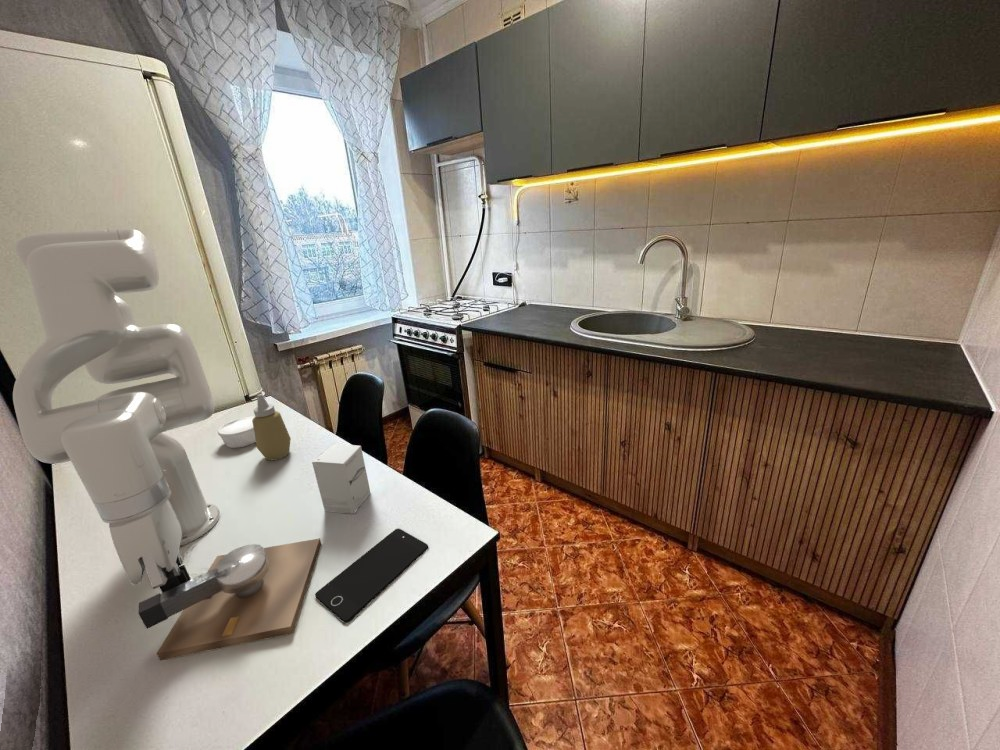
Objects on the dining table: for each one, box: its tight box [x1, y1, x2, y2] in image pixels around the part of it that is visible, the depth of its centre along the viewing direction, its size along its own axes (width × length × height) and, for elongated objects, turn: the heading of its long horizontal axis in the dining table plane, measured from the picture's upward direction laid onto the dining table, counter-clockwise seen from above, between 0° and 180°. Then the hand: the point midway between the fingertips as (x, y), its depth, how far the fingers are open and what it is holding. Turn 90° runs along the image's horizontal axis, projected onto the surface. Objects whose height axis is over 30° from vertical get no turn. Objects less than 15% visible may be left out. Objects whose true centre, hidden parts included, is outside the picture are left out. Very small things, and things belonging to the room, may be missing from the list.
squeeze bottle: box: [252, 393, 292, 461], centre depth 104 cm, size 8×8×18 cm
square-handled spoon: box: [137, 543, 269, 630], centre depth 61 cm, size 16×7×3 cm, turn 130°
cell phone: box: [314, 528, 429, 624], centre depth 69 cm, size 9×18×1 cm, turn 145°
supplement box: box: [311, 443, 371, 515], centre depth 85 cm, size 7×7×13 cm
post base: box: [156, 537, 322, 661], centre depth 65 cm, size 18×18×4 cm
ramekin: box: [217, 416, 256, 449], centre depth 115 cm, size 11×11×5 cm
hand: (179, 591), depth 61 cm, fingers closed
